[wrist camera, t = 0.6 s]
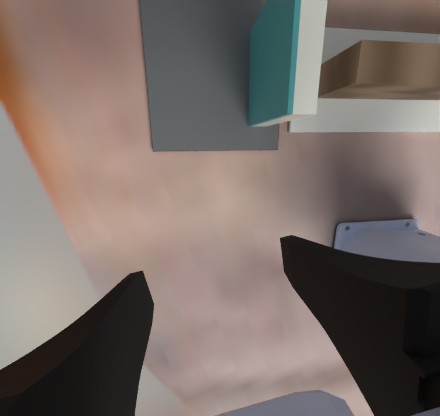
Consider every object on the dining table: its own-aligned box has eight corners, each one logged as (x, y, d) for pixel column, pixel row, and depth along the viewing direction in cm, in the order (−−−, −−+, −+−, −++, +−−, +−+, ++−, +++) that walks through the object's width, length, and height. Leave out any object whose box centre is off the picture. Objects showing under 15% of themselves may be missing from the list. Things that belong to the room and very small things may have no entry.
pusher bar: (478, 72, 21) (566, 50, 16) (471, 100, 21) (552, 88, 16) (317, 66, 19) (361, 39, 14) (314, 98, 19) (355, 82, 14)
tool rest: (501, 40, 20) (507, 38, 20) (474, 131, 23) (479, 131, 22) (295, 28, 18) (297, 25, 18) (288, 132, 20) (290, 132, 20)
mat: (285, 4, 17) (286, 2, 17) (276, 149, 20) (277, 149, 20) (139, -6, 16) (138, -9, 16) (153, 151, 19) (153, 151, 19)
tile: (270, 32, 17) (332, -55, 10) (266, 126, 19) (315, 114, 12) (250, 31, 17) (299, -60, 10) (248, 126, 19) (287, 114, 12)
